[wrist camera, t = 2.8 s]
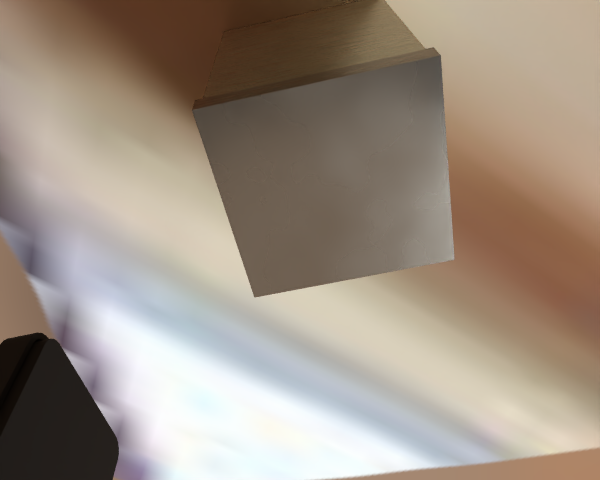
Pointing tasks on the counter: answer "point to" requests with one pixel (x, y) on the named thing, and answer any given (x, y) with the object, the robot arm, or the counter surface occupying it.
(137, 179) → the counter surface
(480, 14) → the counter surface
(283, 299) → the counter surface
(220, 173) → the tea tin
